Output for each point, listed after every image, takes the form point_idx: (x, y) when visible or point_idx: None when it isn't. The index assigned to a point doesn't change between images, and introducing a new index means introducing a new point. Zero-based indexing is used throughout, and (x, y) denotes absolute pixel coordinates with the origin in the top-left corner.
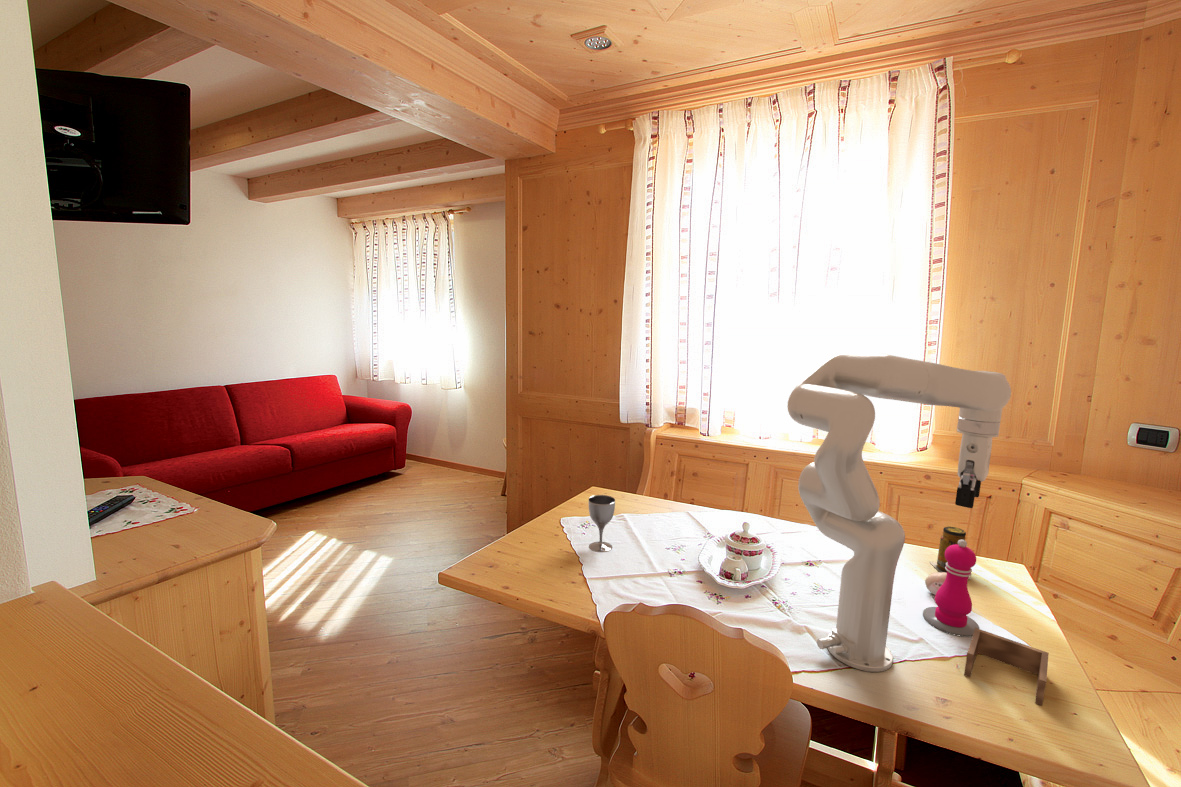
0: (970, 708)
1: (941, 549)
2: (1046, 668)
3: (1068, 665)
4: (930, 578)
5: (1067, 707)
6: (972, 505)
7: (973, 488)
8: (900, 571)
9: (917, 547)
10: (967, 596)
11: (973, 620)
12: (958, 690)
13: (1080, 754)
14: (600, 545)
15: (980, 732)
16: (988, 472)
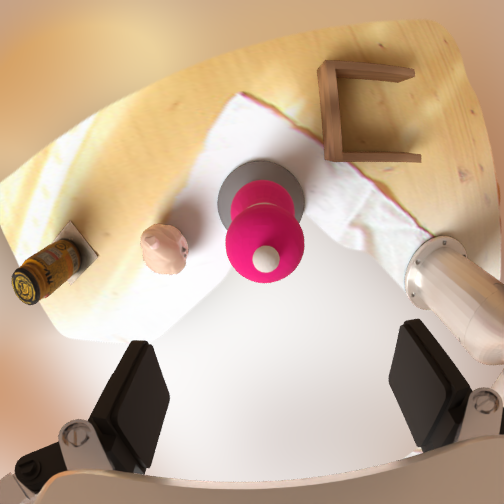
0: (457, 147)
1: (60, 284)
2: (379, 65)
3: (254, 47)
4: (179, 268)
5: (374, 50)
6: (423, 327)
7: (500, 400)
8: (141, 309)
9: (44, 308)
10: (271, 193)
11: (229, 175)
12: (437, 161)
13: (446, 54)
14: None
15: (481, 137)
16: (78, 477)
